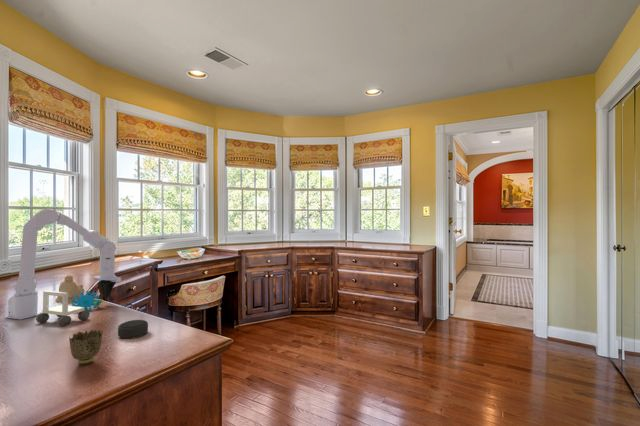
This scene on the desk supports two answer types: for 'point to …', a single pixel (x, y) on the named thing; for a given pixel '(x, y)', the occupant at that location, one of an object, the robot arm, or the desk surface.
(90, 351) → the cup
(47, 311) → the cart
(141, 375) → the desk surface
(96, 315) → the desk surface
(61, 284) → the statue
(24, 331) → the desk surface
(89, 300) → the blue green toy
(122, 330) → the smart speaker
